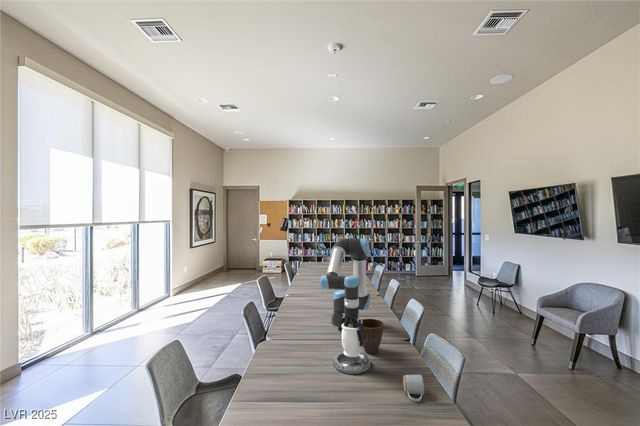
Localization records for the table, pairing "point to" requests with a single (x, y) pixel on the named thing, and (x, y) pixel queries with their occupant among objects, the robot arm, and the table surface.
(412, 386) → the ceramic mug
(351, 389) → the table surface
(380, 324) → the plant pot
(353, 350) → the jar
